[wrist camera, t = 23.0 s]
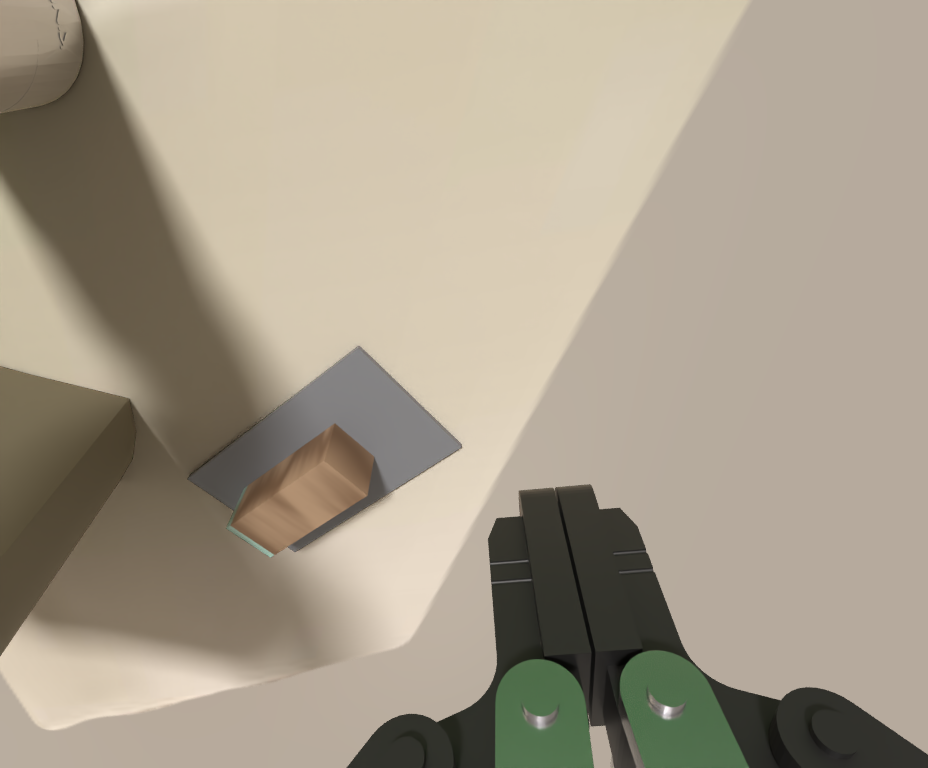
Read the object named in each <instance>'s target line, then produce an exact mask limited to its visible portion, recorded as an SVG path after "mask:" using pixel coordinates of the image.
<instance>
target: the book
mask: <svg viewBox="0 0 928 768" xmlns="http://www.w3.org/2000/svg"><path fill="white" fill-rule="evenodd" d="M135 437H136V428H135V423H134V418H133V414H132V409H131V405H130V400H129V398H125V397H120V396H116V395H112V394H108V393H104V392H100V391H96V390H92V389H88V388H83V387H79V386H75V385H71V384H67V383H63V382H59V381H55V380H50V379H46V378H42V377H38V376H34V375H30V374H26V373H22V372H19V371H15V370H11V369H8V368H4V367H0V656H1V654H2V653H3V652H4V650H5V649H6V647H7V646H8V644H9V643H10V641H11V640H12V638H13V637H14V635H15V634H16V632H17V631H18V630H19V628H20V627H21V625H22V624H23V622H24V621H25V619H26V618H27V616H28V615H29V613H30V612H31V610H32V609H33V608H34V606H35V605H36V603H37V602H38V600H39V599H40V597H41V596H42V594H43V593H44V591H45V590H46V588H47V587H48V585H49V584H50V583H51V581H52V580H53V578H54V577H55V575H56V574H57V572H58V571H59V569H60V568H61V566H62V565H63V563H64V562H65V561H66V559H67V558H68V556H69V555H70V553H71V552H72V550H73V549H74V547H75V546H76V544H77V543H78V541H79V540H80V538H81V537H82V536H83V534H84V533H85V531H86V530H87V528H88V527H89V525H90V524H91V522H92V521H93V519H94V518H95V516H96V515H97V514H98V512H99V511H100V509H101V508H102V506H103V505H104V503H105V502H106V500H107V499H108V497H109V496H110V494H111V493H112V492H113V490H114V489H115V487H116V486H117V484H118V483H119V481H120V479H121V478H122V476H123V474H124V473H125V471H126V469H127V467H128V466H129V464H130V462H131V461H132V459H133V452H134V444H135Z"/></svg>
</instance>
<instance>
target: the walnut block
mask: <svg viewBox="0 0 928 768" xmlns="http://www.w3.org/2000/svg"><path fill="white" fill-rule="evenodd" d="M373 461H374V456H373V455H372V454H371V453H369V452H368V451H367V450H366V449H365V448H363V447H362V446H361V445H360V444H359V443H358V442H356V441H355V440H354V439H353V438H352V437H351V436H349V435H348V434H347V433H346V432H345V431H344V430H342V429H341V428H340V427H339V426H338V425H337V424H335V423H334V424H333V425H332V426H330V427H329V428H327V429H326V430H325V431H323V432H322V433H320V434H319V435H318V436H316V437H315V438H313V439H312V440H311V441H309V442H308V443H307V444H305V445H304V446H302V447H301V448H300V449H298V450H297V451H295V452H294V453H293V454H291V455H290V456H288V457H287V458H286V459H284V460H283V461H281V462H280V463H279V464H277V465H276V466H274V467H273V468H272V469H270V470H269V471H267V472H266V473H265V474H263V475H262V476H260V477H259V478H258V479H256V480H255V481H253V482H252V483H251V484H249V485H248V486H247V487H245V488H244V490H243V492H242V494H241V496H240V498H239V501H238V503H237V505H236V507H235V510H234V512H233V514H232V516H231V519H230V521H229V523H228V525H227V528H226V529H228V530H229V531H231V532H232V533H234V534H235V535H237V536H238V537H240V538H241V539H243V540H244V541H246V542H247V543H249V544H250V545H252V546H253V547H255V548H256V549H258V550H259V551H261V552H263V553H264V554H266V555H267V556H269V557H270V558H271V557H272V556H274V555H275V554H277V553H279V552H280V551H282V550H283V549H285V548H286V547H288V546H289V545H291V544H293V543H294V542H296V541H297V540H299V539H300V538H302V537H304V536H305V535H307V534H308V533H310V532H311V531H313V530H315V529H316V528H318V527H319V526H321V525H322V524H324V523H326V522H327V521H329V520H330V519H332V518H333V517H335V516H336V515H338V514H340V513H341V512H343V511H344V510H346V509H347V508H349V507H351V506H352V505H354V504H355V503H357V502H358V501H360V500H362V499H363V498H365V497H366V496H368V490H369V484H370V479H371V473H372V467H373Z"/></svg>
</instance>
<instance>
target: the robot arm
mask: <svg viewBox="0 0 928 768" xmlns="http://www.w3.org/2000/svg"><path fill="white" fill-rule="evenodd" d="M83 46H84V40H83V33H82V25H81V19H80V16H79V13H78V10H77V6H76V3H75V0H0V113H6V112H11V111H16V110H22V109H27V108H32V107H38V106H42V105H45V104H48V103H50V102H53V101H55V100H57V99H58V98H60V97H61V96H62V95H63V94H65V93H66V92H67V91H68V90H69V89H70V87H71V86H72V84H73V83H74V81H75V80H76V78H77V76H78V73H79V70H80V67H81V64H82V59H83ZM519 509H520V516H519V517H507V518H497V519H496V521H495V524H494V526H493V528H492V531H491V533H490V536H489V538H488V543H489V544H488V545H489V558H490V570H491V584H492V597H493V611H494V623H495V637H496V650H497V667H496V673H495V676H494V679H493V681H492V683H491V685H490V687H489V689H488V690H487V691H486V693H485V694H484V695H483V696H482V697H481V698H480V699H479V700H478V701H477V702H476V703H474V704H473V705H472V706H470V707H468V708H467V709H465V710H463V711H461V712H458V713H456V714H454V715H452V716H450V717H448V718H445V719H443V720H441V721H439V722H435V721H434V720H432V719H431V718H428V717H426V716H423V715H418V714H406V715H401V716H398V717H395V718H393V719H391V720H389V721H387V722H386V723H384V724H383V725H382V726H381V727H380V728H378V729H377V731H376V732H375V733H374V734H373V735H372V736H371V737H370V739H369V740H368V742H367V743H366V744H365V745H364V746H363V748H362V749H361V750H360V752H359V753H358V754H357V755H356V757H355V758H354V759H353V761H352V762H351V763H350V764H349V766H348V767H347V768H594V764H593V757H592V749H591V742H590V733H589V719H590V725H591V726H603V725H605V726H606V730H607V735H608V739H609V744H610V748H611V752H612V757H611V768H928V755H927V754H926V753H924V752H923V751H922V750H920V749H919V748H917V747H916V746H914V745H913V744H911V743H910V742H909V741H907V740H906V739H904V738H903V737H901V736H900V735H898V734H897V733H896V732H894V731H893V730H891V729H890V728H888V727H887V726H885V725H884V724H882V723H881V722H880V721H878V720H877V719H875V718H874V717H872V716H871V715H869V714H868V713H867V712H865V711H864V710H862V709H861V708H859V707H858V706H856V705H855V704H854V703H852V702H850V701H849V700H847V699H845V698H844V697H842V696H840V695H838V694H836V693H833V692H830V691H827V690H824V689H819V688H807V687H806V688H799V689H796V690H793V691H791V692H790V693H788V694H786V695H785V696H784V698H783V699H782V700H777V699H772V698H769V697H765V696H761V695H757V694H753V693H748V692H745V691H741V690H737V689H734V688H731V687H728V686H726V685H724V684H721V683H719V682H717V681H716V680H714V679H712V678H711V677H709V676H708V675H707V674H705V673H704V672H703V671H702V670H701V669H700V668H698V667H697V666H696V665H695V663H694V662H693V661H692V660H691V659H690V657H689V656H688V654H687V653H686V651H685V649H684V647H683V645H682V643H681V640H680V638H679V635H678V632H677V630H676V627H675V625H674V622H673V619H672V617H671V614H670V611H669V609H668V606H667V603H666V601H665V598H664V595H663V593H662V590H661V588H660V585H659V582H658V580H657V577H656V574H655V573H654V572H653V567H652V564H651V561H650V558H649V556H648V554H647V553H646V548H645V545H644V543H643V540H642V537H641V535H640V532H639V529H638V527H637V526H636V525H635V524H634V522H633V521H632V520H631V519H630V518H629V517H628V516H627V515H626V514H625V513H624V512H623V511H622V510H621V509H620V508H612V509H600V510H599V507H598V503H597V500H596V497H595V494H594V491H593V488H592V486H591V485H590V484H589V485H578V486H566V487H556V488H555V491H554V489H553V488H544V489H533V490H521V491H519ZM588 715H589V719H588Z"/></svg>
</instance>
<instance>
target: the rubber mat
mask: <svg viewBox="0 0 928 768" xmlns="http://www.w3.org/2000/svg"><path fill="white" fill-rule="evenodd" d="M334 423H335V424H337V425H338V426H339V427H340V428H341V429H342V430H344V431H345V432H346V433H347V434H348V435H349V436H351V437H352V438H353V439H354V440H355V441H356V442H358V443H359V444H360V445H361V446H362V447H363V448H365V449H366V450H367V451H368V452H369V453H371V454H372V455H373V456H374V461H373V467H372V473H371V479H370V484H369V490H368V496H366V497H365V498H363V499H362V500H360V501H358V502H357V503H355V504H354V505H352V506H351V507H349V508H347V509H346V510H344V511H343V512H341V513H340V514H338V515H336V516H335V517H333V518H332V519H330V520H329V521H327V522H326V523H324V524H322V525H321V526H319V527H318V528H316V529H315V530H313V531H311V532H310V533H308V534H307V535H305V536H304V537H302V538H300V539H299V540H297V541H296V542H294V543H293V544H291V545H289V546H288V548H290V549H291V550H292V551H294V552H296V551H298V550H299V549H301V548H303V547H304V546H306V545H307V544H309V543H311V542H312V541H314V540H315V539H317V538H318V537H320V536H322V535H323V534H325V533H326V532H328V531H330V530H331V529H333V528H334V527H336V526H337V525H339V524H341V523H342V522H344V521H345V520H347V519H349V518H350V517H352V516H353V515H355V514H356V513H358V512H360V511H361V510H363V509H364V508H366V507H368V506H369V505H371V504H372V503H374V502H376V501H377V500H379V499H380V498H382V497H383V496H385V495H387V494H388V493H390V492H391V491H393V490H395V489H396V488H398V487H399V486H401V485H402V484H404V483H406V482H407V481H409V480H410V479H412V478H414V477H415V476H417V475H418V474H420V473H421V472H423V471H425V470H426V469H428V468H429V467H431V466H433V465H434V464H436V463H437V462H439V461H441V460H442V459H444V458H445V457H447V456H448V455H450V454H452V453H453V452H455V451H456V450H458V449H460V448H461V443H460V442H459V441H458V440H456V439H455V438H454V437H453V436H452V435H451V434H450V433H449V432H448V431H447V430H446V429H445V428H444V427H443V426H442V425H441V424H440V423H439V422H438V421H437V420H436V419H435V418H434V417H433V416H432V415H431V414H430V413H429V412H427V411H426V410H425V409H424V408H423V407H422V406H421V405H420V404H419V403H418V402H417V401H416V400H415V399H414V398H413V397H412V396H411V395H410V394H409V393H408V392H407V391H406V390H405V389H404V388H403V387H402V386H401V385H399V384H398V383H397V382H396V381H395V380H394V379H393V378H392V377H391V376H390V375H389V374H388V373H387V372H386V371H385V370H384V369H383V368H382V367H381V366H380V365H379V364H378V363H377V362H376V361H375V360H374V359H373V358H372V357H370V356H369V355H368V354H367V353H366V352H365V351H364V350H363V349H362V348H361V347H360V346H358V347H356V348H355V349H354V350H353V351H351V352H350V353H349V354H347V355H346V356H345V357H343V358H342V359H341V360H339V361H338V362H337V363H336V364H334V365H333V366H332V367H330V368H329V369H328V370H326V371H325V372H324V373H323V374H321V375H320V376H319V377H317V378H316V379H315V380H313V381H312V382H311V383H310V384H308V385H307V386H306V387H304V388H303V389H302V390H300V391H299V392H298V393H296V394H295V395H294V396H293V397H291V398H290V399H289V400H287V401H286V402H285V403H283V404H282V405H281V406H280V407H278V408H277V409H276V410H274V411H273V412H272V413H270V414H269V415H268V416H267V417H265V418H264V419H263V420H261V421H260V422H259V423H257V424H256V425H255V426H253V427H252V428H251V429H250V430H248V431H247V432H246V433H244V434H243V435H242V436H240V437H239V438H238V439H237V440H235V441H234V442H233V443H231V444H230V445H229V446H227V447H226V448H225V449H224V450H222V451H221V452H220V453H218V454H217V455H216V456H214V457H213V458H212V459H210V460H209V461H208V462H207V463H205V464H204V465H203V466H201V467H200V468H199V469H197V470H196V471H195V472H194V473H192V474H191V475H190V476H189V477H188V480H190V481H191V482H192V483H194V484H195V485H197V486H198V487H200V488H201V489H203V490H204V491H206V492H207V493H209V494H210V495H212V496H213V497H215V498H216V499H217V500H219V501H220V502H222V503H223V504H225V505H226V506H228V507H229V508H231V509H232V510H235V507H236V505H237V503H238V501H239V498H240V496H241V494H242V492H243V490H244V488H245V487H247V486H248V485H249V484H251V483H252V482H253V481H255V480H256V479H258V478H259V477H260V476H262V475H263V474H265V473H266V472H267V471H269V470H270V469H272V468H273V467H274V466H276V465H277V464H279V463H280V462H281V461H283V460H284V459H286V458H287V457H288V456H290V455H291V454H293V453H294V452H295V451H297V450H298V449H300V448H301V447H302V446H304V445H305V444H307V443H308V442H309V441H311V440H312V439H313V438H315V437H316V436H318V435H319V434H320V433H322V432H323V431H325V430H326V429H327V428H329V427H330V426H332V425H333V424H334Z"/></svg>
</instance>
